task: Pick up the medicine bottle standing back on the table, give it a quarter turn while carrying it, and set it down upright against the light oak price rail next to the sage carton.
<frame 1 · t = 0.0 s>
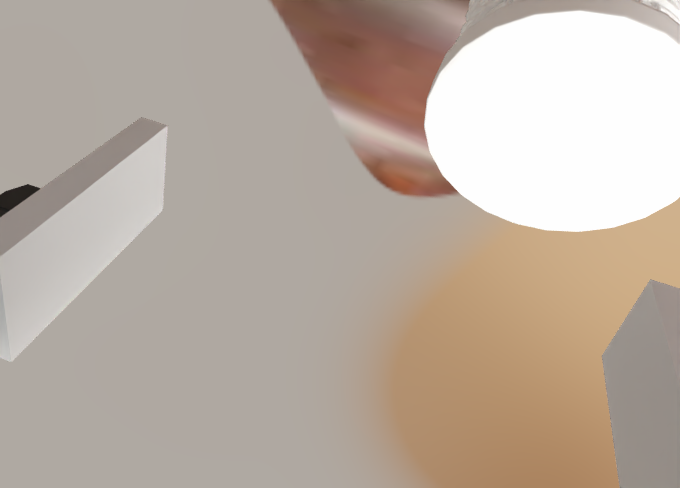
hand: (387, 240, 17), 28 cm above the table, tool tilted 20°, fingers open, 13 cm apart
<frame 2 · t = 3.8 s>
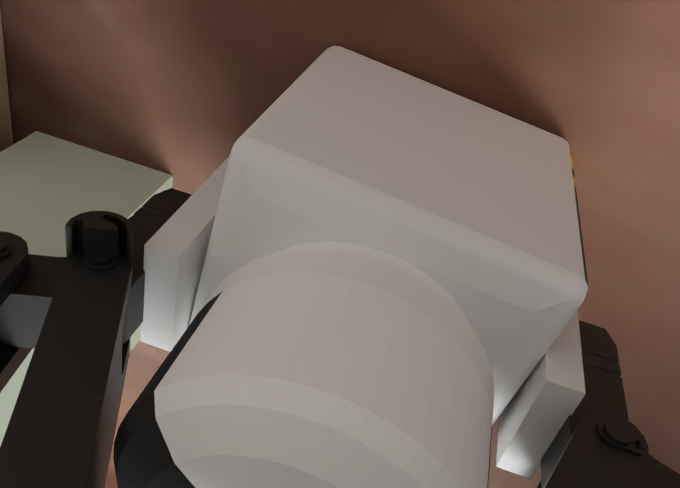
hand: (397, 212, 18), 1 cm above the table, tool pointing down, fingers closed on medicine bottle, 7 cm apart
medicine bottle: (405, 191, 19), on the table, touching gripper
sage carton: (104, 225, 23), on the table
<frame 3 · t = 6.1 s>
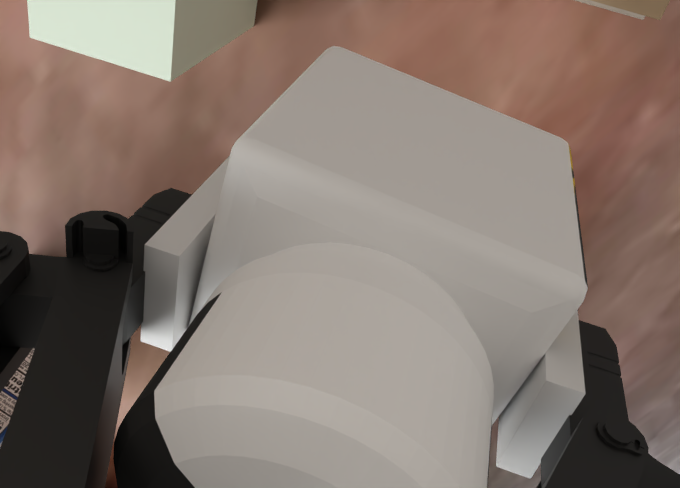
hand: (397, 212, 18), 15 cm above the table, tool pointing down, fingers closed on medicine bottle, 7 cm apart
medicine bottle: (405, 191, 19), point 13 cm above the table, touching gripper
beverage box: (48, 323, 48), on the table
when the fingers open (3 cm above the table, at t = 8.6 s): medicine bottle drops 1 cm, on the table.
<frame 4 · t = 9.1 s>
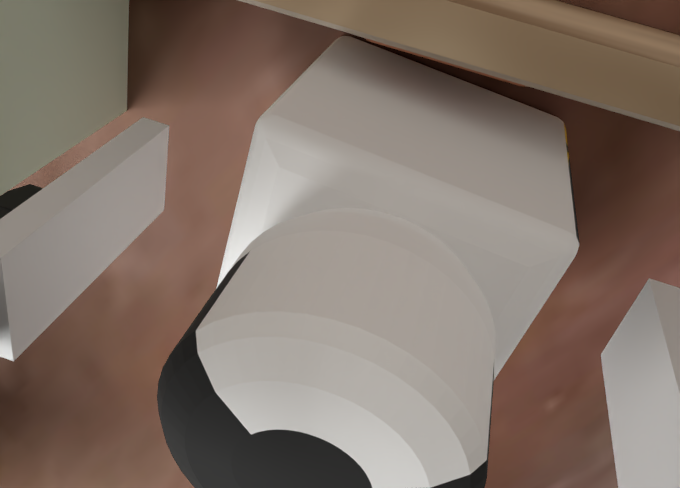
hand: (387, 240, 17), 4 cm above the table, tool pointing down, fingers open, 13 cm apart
medicine bottle: (412, 172, 21), on the table
sage carton: (44, 13, 21), on the table
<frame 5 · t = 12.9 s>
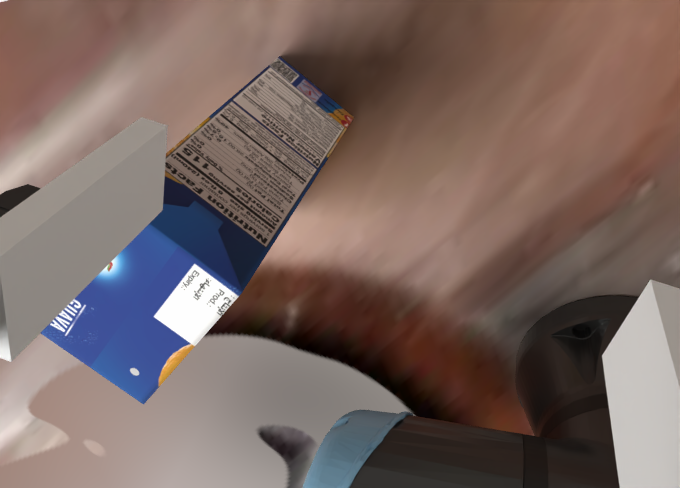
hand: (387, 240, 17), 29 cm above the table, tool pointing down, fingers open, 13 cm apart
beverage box: (279, 137, 49), on the table
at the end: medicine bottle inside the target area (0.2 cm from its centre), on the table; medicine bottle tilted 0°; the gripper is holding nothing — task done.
